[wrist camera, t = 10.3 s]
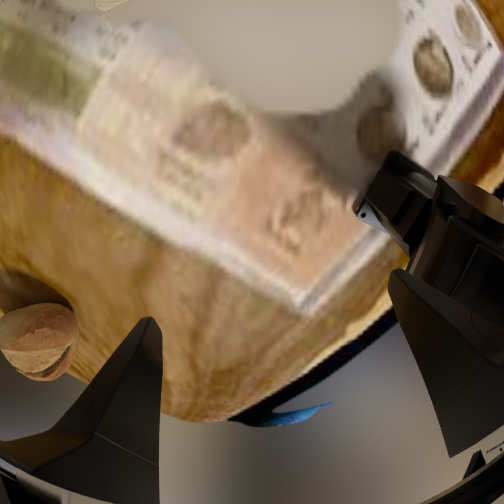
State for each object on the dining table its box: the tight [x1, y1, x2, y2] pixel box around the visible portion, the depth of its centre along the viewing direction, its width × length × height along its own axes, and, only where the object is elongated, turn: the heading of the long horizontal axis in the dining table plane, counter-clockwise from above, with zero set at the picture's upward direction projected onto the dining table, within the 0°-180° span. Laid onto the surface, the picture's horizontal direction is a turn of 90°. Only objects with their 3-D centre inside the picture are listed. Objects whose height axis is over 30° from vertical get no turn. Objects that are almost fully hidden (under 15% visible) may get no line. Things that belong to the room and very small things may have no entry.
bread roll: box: [0, 303, 79, 381], centre depth 23 cm, size 10×15×8 cm, turn 110°
